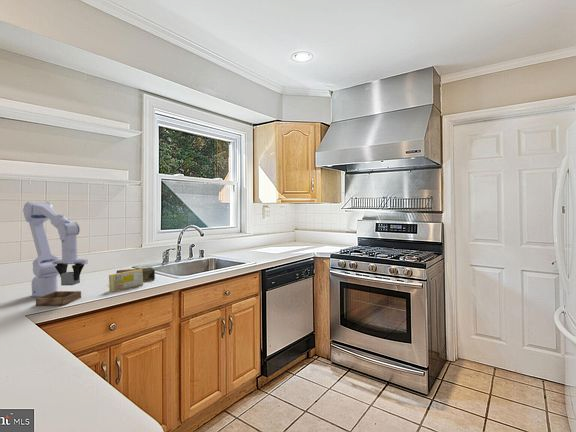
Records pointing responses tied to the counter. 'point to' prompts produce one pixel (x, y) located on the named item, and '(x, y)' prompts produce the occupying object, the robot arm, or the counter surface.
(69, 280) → the slate crate
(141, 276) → the candy box
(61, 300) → the walnut crate
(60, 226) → the robot arm
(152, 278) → the beverage carton
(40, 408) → the counter surface
